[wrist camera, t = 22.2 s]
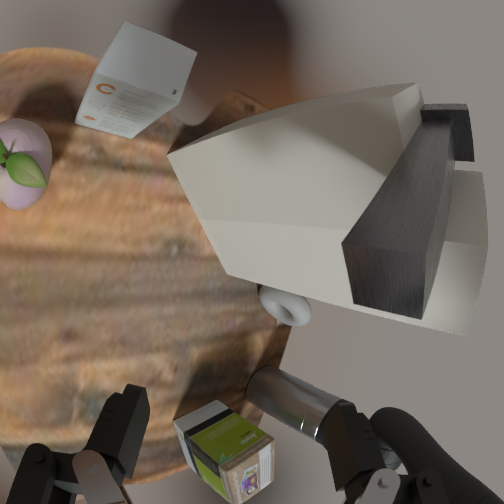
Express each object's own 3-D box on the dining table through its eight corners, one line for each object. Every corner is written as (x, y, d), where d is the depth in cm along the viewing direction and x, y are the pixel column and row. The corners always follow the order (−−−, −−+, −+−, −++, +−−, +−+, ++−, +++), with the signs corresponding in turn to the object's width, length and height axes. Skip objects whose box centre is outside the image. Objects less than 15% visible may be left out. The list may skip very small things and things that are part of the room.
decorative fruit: (63, 146, 23) (72, 118, 16) (41, 216, 22) (37, 217, 15) (0, 126, 16) (-14, 91, 9) (-25, 198, 16) (-53, 191, 9)
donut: (278, 307, 52) (322, 321, 45) (268, 321, 50) (311, 337, 43) (258, 271, 47) (305, 283, 40) (245, 286, 45) (293, 300, 38)
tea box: (224, 443, 47) (275, 481, 36) (186, 464, 40) (234, 510, 29) (217, 396, 44) (278, 439, 33) (170, 419, 37) (226, 474, 26)
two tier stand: (227, 274, 42) (466, 336, 18) (166, 155, 32) (484, 94, 8) (279, 225, 49) (478, 247, 25) (238, 120, 39) (469, 81, 15)
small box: (145, 97, 29) (200, 52, 19) (131, 140, 29) (181, 105, 19) (91, 79, 23) (125, 18, 14) (72, 123, 23) (93, 73, 14)
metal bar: (355, 319, 11) (463, 346, 7) (334, 217, 8) (490, 233, 5) (432, 148, 23) (472, 149, 19) (424, 104, 20) (466, 104, 17)
